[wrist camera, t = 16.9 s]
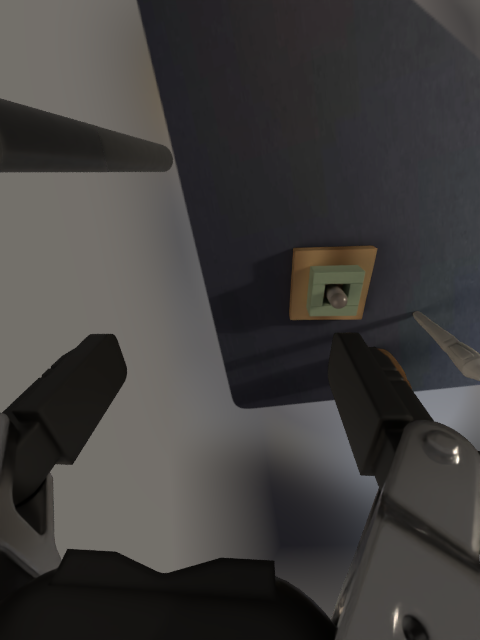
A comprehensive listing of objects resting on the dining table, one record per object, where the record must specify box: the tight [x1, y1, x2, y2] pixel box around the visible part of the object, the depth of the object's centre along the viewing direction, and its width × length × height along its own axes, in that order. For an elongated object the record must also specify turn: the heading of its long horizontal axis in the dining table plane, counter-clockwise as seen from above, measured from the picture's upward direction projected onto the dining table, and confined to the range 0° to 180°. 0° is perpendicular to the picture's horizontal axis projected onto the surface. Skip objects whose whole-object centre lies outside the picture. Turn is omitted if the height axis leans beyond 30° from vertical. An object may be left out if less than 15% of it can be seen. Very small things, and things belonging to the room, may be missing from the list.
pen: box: [413, 311, 480, 381], centre depth 31 cm, size 2×3×14 cm
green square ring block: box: [306, 265, 365, 316], centre depth 33 cm, size 6×6×3 cm
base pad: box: [289, 246, 377, 320], centre depth 32 cm, size 10×10×6 cm
